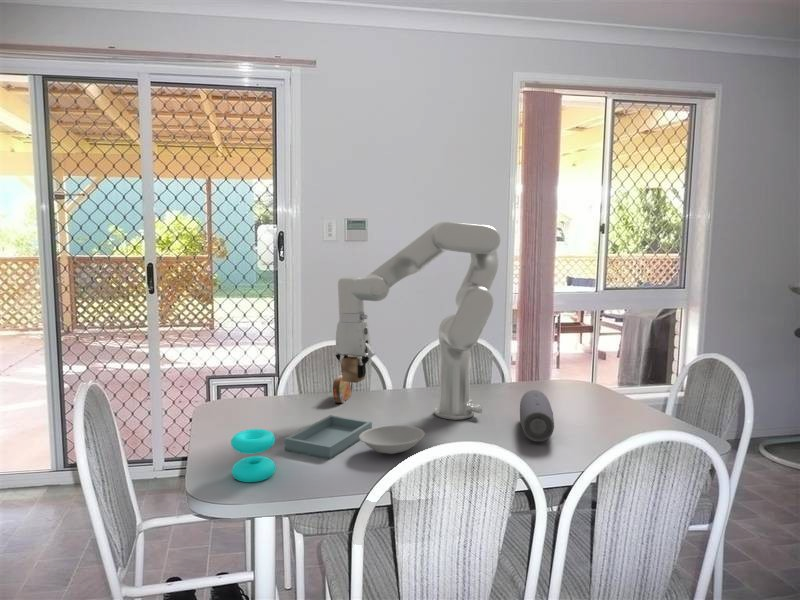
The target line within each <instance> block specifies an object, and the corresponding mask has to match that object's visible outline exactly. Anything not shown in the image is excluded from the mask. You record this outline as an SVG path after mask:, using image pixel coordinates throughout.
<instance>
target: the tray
mask: <svg viewBox="0 0 800 600" xmlns="http://www.w3.org/2000/svg"><path fill="white" fill-rule="evenodd" d="M371 428H373V422H372V421H367V420H361V419H356V418H355V419H354V418H349V417H344V416H337V415H331V414H330V415H328V416H326V417H324V418H322V419H320V420H318V421H316V422H314V423H312V424H310V425H309V426H307V427H305V428H302V429H300V430H299V431H297V432H295V433H293V434H291V435H289V436H287V437H285V438H284V450H285V452H286V451H287V452H290V453H291V452H293V453H295V454H303V455H306V456H309V457H310V456H311V457H315V458H321V459H326V460H332V459H333V458H335V457H336V456H338V455H340V454H341V453H343V452H345V451H347V450H348V449H349V448H350V447H352V446H353V445H355V444H357V443H359V442H361V440H360V439H359V435H360V434H361V433H362V432H364V431H366V430H368V429H371Z"/></svg>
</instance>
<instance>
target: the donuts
mask: <svg viewBox="0 0 800 600" xmlns="http://www.w3.org/2000/svg"><path fill="white" fill-rule="evenodd" d="M275 440H276V438H275V435H274V433H273V432H272V431H270V430H267V429H262V428H252V429H245V430H242V431H239V432H237V433H235V434H234V435H233V436H232V438H231V439H230V446H231V447H232V449H233V450H235V451H236V452H239V453H241V454H247V455H248V454H250V455H251V454H252V456H247V457H243V458H242V459H240V460H238V461H236V462H235V463H234V465H233V466H232V469H231V474H232V476H233V478H234V479H235V480H237V481H239V482H243V483H244V482H245V483H257V482H262V481H265V480H267V479H270V478H271V477H272V476H273V475H274V474H275V472H276V464H275V461H273V460H272V459H271V458H270V457H267V456H261V455H254V454H259V453H264V452H266V451H268V450H269V449H270V448H272V447H273V445H274V444H275V442H276V441H275Z"/></svg>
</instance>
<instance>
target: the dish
mask: <svg viewBox="0 0 800 600" xmlns="http://www.w3.org/2000/svg"><path fill="white" fill-rule="evenodd" d="M425 435H426V433H425V431H424V430H423V429H422V428H419V427H417V426H411V425H404V424H403V425H402V424H395V425H394V424H392V425H390V424H388V425H380V426H376V427H372V428H371V429H368V430H366V431H364V432H362V433H361V434H360V435H359V439H360V442H362V443H364V444H365V445H366V447H368V448H369V449H371V450H373V451H375V452H378V453H382V454H389V455H395V454H398V453H402V452H406V451H408V450H410V449H411V448H413V447H414V446H415V445H416V444H417V443H419V441H420V440H422V439H423V438H424V437H425Z"/></svg>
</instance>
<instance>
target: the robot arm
mask: <svg viewBox="0 0 800 600" xmlns="http://www.w3.org/2000/svg"><path fill="white" fill-rule="evenodd" d="M500 243H501V236H500V233H499V232H498V230H497V229H496V228H494V227H493V226H491V225H486V224H473V223H463V222H455V221H440V222H438V223H435V224H434V225H433V226H431V227H430V228H428V230H426V231H424V232H423V233H422V234H421V235H420V236H419V237H417V238H416V239H414V240H413V241H412V242H410V243H409V244H408V245H407V246H405V247H404V248H402V249H401V250H399V251H398V252H397V253H396V254H395V255H394V256H392V257H391V258H389V259H388V260H386V261H385V262H383V263H382V264H381V265H380V266H378V267H377V268H375V269H374V270H373V271H372V272H370V273H369V274H368V275H367V276H366V277H363V278H361V277H359V276H344V277H340V278H339V279H338V281H337V289H338V290H337V292H338V294H337V295H338V322H337V324H336V332H335V345H334V347H333V348H332V350H331V354H332V355H333V356H335V357H336V359H337V360H338V361H339V364H340V366H341V367H340V368H341V369H340V370H341V371H340V372H341V373H342V359H343V358H345V357H348V356H357V358H358V361H359V365H358V378H362V377H364V376H365V377H366V372H367V370H366V364H368V362H369V361H370V359H372V358H373V357H375V355H376V354H375V352H374V350H373V349H372V348H371V336H370V330H369V326H368V322H367V321H365V320H368V314H366V313H365V309H364V307H365V306H364V301H365V302H366V301H367V302H381V301H383V300H385V299H386V298H387V297H388V295H389V294H390V289H391V288H392V287H393V286H394V285H396V284H397V283H399V282H400V281H402V280H403V279H405V278H406V277H409V276H412V275H416V274H417V273H419V272H421V271H422V270H424V269H425V268H426V267H427V266H429V265H430V264H431V263H432V262H433V261H435V260H437V259H438V258H439V257H440V256H442V255H444V253H446V252H447V251H450V252H457V253H467V254H470V264H469V266H468V270H467V271H466V274H465V276H464V279H463V281H462V283H461V285H460V286H459V289H458V291H457V292H456V295H455V305H456V307H457V308H458V309H457V311H456V313H455V314H449V315H446V316H445V317H444V318H443V319H442V320H441V321H440V324H439V326H438V327H439V328H438V341H439V396H438V397H439V402H438V403H439V406H437V407H435V408H434V411H433V412H434V415H435V416H437V418H441V419H445V420H452V421H453V420H455V421H457V420H459V421H460V420H467V419H470V418H472V417H474V415H475V413H477V414H482V413H483V407H482V406H481V405H480V404H474V403H473V399H471V397H470V395H471V394H470V391H471V389H470V388H471V386H470V384H471V379H470V378H471V349H472V348H474V346H475V345H476V344H477V343H478V342H479V339H480V338H481V335H482V333H483V331H484V328H485V327H486V325H487V323H488V320H489V318H490V316H491V315H492V311H493V306H494V297H493V295H492V292H491V291H490V289H491V287H492V285H493V282H494V280H495V277H496V275H497V272H498V267H499V257H498V256H499V255H498V252H497V250H498V248H499V246H500ZM366 354H367V355H366Z"/></svg>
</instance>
